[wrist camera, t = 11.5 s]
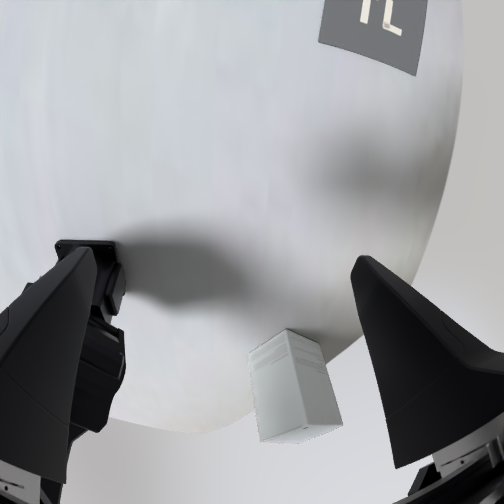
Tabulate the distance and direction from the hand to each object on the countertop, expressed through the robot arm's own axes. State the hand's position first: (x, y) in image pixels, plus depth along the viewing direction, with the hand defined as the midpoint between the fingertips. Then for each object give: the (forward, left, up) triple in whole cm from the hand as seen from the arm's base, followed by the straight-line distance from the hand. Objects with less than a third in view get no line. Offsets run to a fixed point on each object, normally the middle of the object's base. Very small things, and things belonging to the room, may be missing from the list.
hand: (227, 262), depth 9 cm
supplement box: (+10, -26, -13) cm, 31 cm away
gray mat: (+10, +13, -13) cm, 21 cm away
